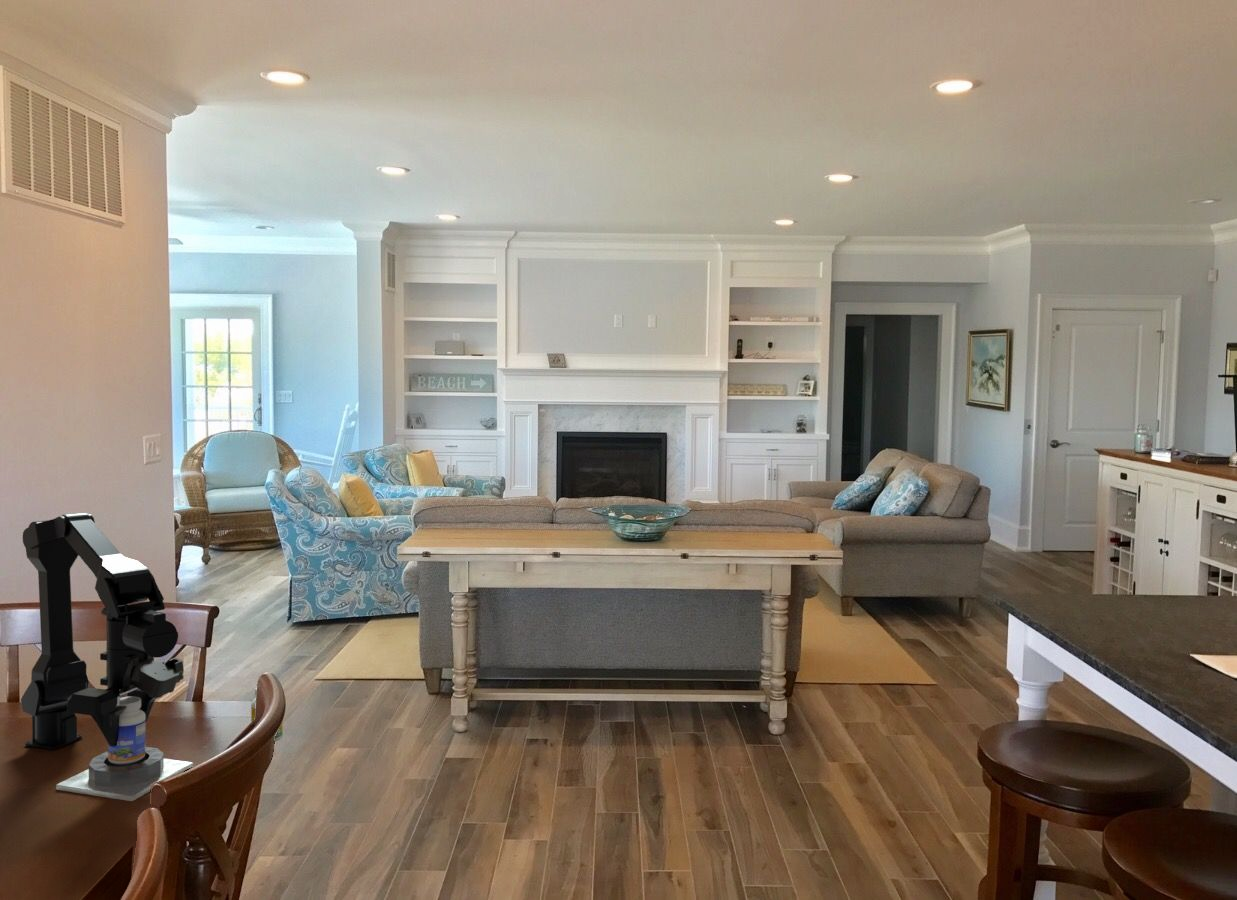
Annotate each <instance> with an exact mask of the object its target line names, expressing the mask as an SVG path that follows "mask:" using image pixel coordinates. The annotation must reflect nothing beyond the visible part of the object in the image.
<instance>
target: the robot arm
mask: <svg viewBox="0 0 1237 900" xmlns="http://www.w3.org/2000/svg"><path fill="white" fill-rule="evenodd" d="M22 544H23V546H24V548H25V554H26V558H27V559H28V560H29V561H30V563H31V564H32V565H33V567H34V568H35V569H36V571H37V577H38V596H39V597H38V598H39V599H38V600H39V620H40V641H41V642H40V645H41V646H40V647H41V654H40V656H39V657H38V659H37V661H36V662H35V664H34V666H33V667H32V669H31V679H30V681H31V682H30V683H29V685H28V687H27V688H26V690H25V692H24V693H23V695H22V697H21V698H20V703H21V709H22V712H24V713H26V714H28V715H30V716H31V724H32V726H31V727H32V728H31V730H32V735H31V736H32V737H31V738H32V739H30V740H27V741H25V742H24V746H26V747H33V748H40V749H48V750H56V749H59V748H61V747H63V746H66V745H68V744H70V743H72V742H76V741H77V740H79V739H82V738H83V734H82V733H78V716H77V715H76V714H79V715H85V716H90V717H91V718H92V719H93V721H94V722H95V723H96V725H97V726H98V728H99V730H100V732H101V733H102V735H103V736H104V738H105V740H106V742H107V745H108V744H109V745H110V746H114V747H115V746H117V742H118V733H119V717H120V714H121V713H122V712H123V711H124V710H125V709H126V706H120V698H121V697H123V696H125V695H126V697H129V696H135V697H139V698H141V708H140V710H142V711H143V712H144V713H145V717H146V723H147V722H148V719H149V717H150V713H151V711H152V708H153V705H154V704H155V701H156V700H157V699H160V698H162V697H163V696H164V695H167V694H168V693H170V694H172V693H173V692H174V691H175V688H176V685H177V683H180V682H181V680H184V675H183V674H184V671H185V670H184V662H183V659H181V658H178V657H177V656H175V657H173V658H171V659H168V660H167V661H166V662H165V661H164V660H161V661H157V660H155V658H162V657H165V656H167V655H169V654H170V653H171V652H172V651H173V650H174V649H175V647H176V646H177V643H178V639H179V632H178V630H177V627H176V626H175V624H174V623H172V622H171V621H168V620H166V619H167V614H166V612H163V611H165V608H166V606H165V604H164V599H165V598H164V596H163V594H162V592H161V590H160V588H159V586H158V585H157V582H156V579H155V576H154V575H153V573H152V572H151V571H150V570H149V568H148V567H147V566H145V565H144V564H143V563H141V562H140V561H139V560H136V559H133V558H129V557H127V556H124V555H123V554H122V553H121V552H120V551H119V550H118V548H117V547H116V546H115V545H114V544H113V543H112V542H111V541H110V539H109V538H108V537H107V536H106V535H105V534H104V532H103V531H102V530H101V529H100V527H98V526H97V524H96V522H95V517H94V516H93V514H90V513H86V512H79V513H66V514H62V515H61V516H57V517H55V518H52V519H49V520H48V519H47V520H37V521H36V520H35V521H32V522H31V523H30V524H29V525H28V526H27V527H26V528H25V529H24V530H23V533H22ZM78 557H80V558H81V560H82V561H83V562H84V564H85V565H86V566H87V567H88V568H89V570H90V571H91V572H92V574H93V575H94V576H95V578H96V581H95V582H96V583H95V585H94V589H95V591H96V593H97V595H98V598H99V599H100V601H101V603H102V604H103V606H104V608H102V610H101V615H103V616H106V651H103V652H101V653H99V654H100V655H99V659H100V661H105V662H106V675H105V676H104V677H101V678H99V681H100V683H99V685H100V686H107V688H105V689H103V688H96V687H89V678H88V675H87V663H86V661H85V660H81V658H80V657H79V656H78V655H77V653H76V652H75V651H74V635H73V634H74V632H73V611H72V609H73V607H72V586H71V584H72V583H71V568H72V567H73V565H74V563H75V562H76V561H77V559H78ZM147 600H149V601H147Z"/></svg>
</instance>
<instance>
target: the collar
mask: <svg viewBox="0 0 1237 900" xmlns="http://www.w3.org/2000/svg"><path fill="white" fill-rule="evenodd" d="M164 755H165V754H164V752H163V751H161V749H159V748H157V747H150V746H145V756H144V757H143V758H142V759H141V760H139V761H136V762H133V763H129V764H114V763H111V762H110V761H109V760H108V751H105V752H103V753H101V754H98V755H97V756H94V757H92V759H91V760H90V762H89V763H88V769H86V770H84V771H81V772H80V773H78V774H76V775H73V776H70V777H68V778H66V779H65V780H63V781H61V782H59V783H57V784H56V786H55V787H56V788H55V789H56V790H57V791H62V792H63V791H64V792H70V793H77V794H83V795H89V796H94V797H102V798H108V799H115V800H121V801H126V802H133V801H136V800H137V799H138V798H139V799H140V797H143V796H144V795H146V794H148V793H149V792H151V791H150V788H151V786H152V785H153V784H154V783H155V782H159V781H162V780H164V779H166V778H169V777H171V776H173V775H176V774H178V773H181V772H183V771H185V770H187V769H189V768H190V769H192V768H193V767H194V762H191V761H185V760H177V759H171V758H165V757H164ZM191 767H192V768H191ZM190 769H189V770H190ZM187 771H188V770H187ZM185 772H186V771H185ZM183 773H184V772H183Z"/></svg>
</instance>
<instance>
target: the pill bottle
mask: <svg viewBox="0 0 1237 900" xmlns="http://www.w3.org/2000/svg"><path fill="white" fill-rule="evenodd" d="M120 706H126V709H125V710H124V711H123V712H122V713H121V714H120V717H119V733H118V742H117V746H115V747H114V746H110V745H109V744H108V743H107V752H108V760H109V761H110V762H111V763H114V764H129V763H133V762H136V761H139V760H141V759H142V758H143V757H144V756H145V747H146V725H147V722H146V717H145V713H144V712H143V711H142V710H140V708H141V698H139V697H135V696H129V697H128V696H124V697H123V696H121V697H120Z"/></svg>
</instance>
